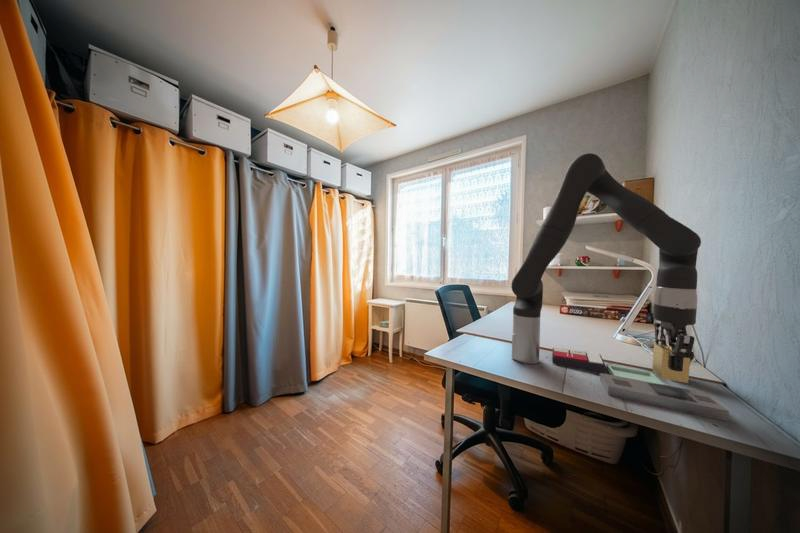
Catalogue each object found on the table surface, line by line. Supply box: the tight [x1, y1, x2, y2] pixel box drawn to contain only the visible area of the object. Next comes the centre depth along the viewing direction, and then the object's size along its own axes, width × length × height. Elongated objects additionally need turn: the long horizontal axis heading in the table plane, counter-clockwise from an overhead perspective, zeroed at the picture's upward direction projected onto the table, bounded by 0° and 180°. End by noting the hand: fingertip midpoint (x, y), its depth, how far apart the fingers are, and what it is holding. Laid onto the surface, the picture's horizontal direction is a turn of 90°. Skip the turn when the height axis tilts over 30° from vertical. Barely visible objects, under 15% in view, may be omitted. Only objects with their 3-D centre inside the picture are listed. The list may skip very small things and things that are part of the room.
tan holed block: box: [651, 342, 691, 384], centre depth 63 cm, size 5×5×8 cm
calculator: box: [551, 346, 607, 375], centre depth 87 cm, size 11×4×15 cm
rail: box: [599, 373, 730, 422], centre depth 65 cm, size 22×9×3 cm, turn 61°
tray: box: [606, 364, 666, 385], centre depth 75 cm, size 11×11×2 cm
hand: (670, 365), depth 63 cm, fingers closed on tan holed block, 5 cm apart
